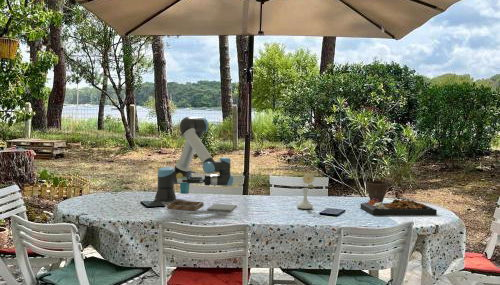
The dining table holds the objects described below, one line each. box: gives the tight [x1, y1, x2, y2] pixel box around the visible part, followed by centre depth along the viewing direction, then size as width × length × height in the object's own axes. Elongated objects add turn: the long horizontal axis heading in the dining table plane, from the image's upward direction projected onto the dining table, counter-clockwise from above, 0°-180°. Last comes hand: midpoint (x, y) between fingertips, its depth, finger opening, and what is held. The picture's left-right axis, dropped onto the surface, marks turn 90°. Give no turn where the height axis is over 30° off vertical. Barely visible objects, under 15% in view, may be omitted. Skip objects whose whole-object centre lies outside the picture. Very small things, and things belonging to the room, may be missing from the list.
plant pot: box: [366, 180, 388, 203], centre depth 457 cm, size 15×15×16 cm
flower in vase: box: [296, 173, 315, 210], centre depth 430 cm, size 13×11×25 cm
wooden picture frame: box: [167, 199, 204, 211], centre depth 426 cm, size 20×18×2 cm
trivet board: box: [206, 203, 238, 213], centre depth 424 cm, size 16×20×1 cm
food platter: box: [359, 195, 438, 217], centre depth 428 cm, size 45×25×10 cm, turn 99°
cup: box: [176, 171, 197, 195], centre depth 425 cm, size 14×8×15 cm, turn 90°
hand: (177, 179), depth 424 cm, fingers closed on cup, 8 cm apart
